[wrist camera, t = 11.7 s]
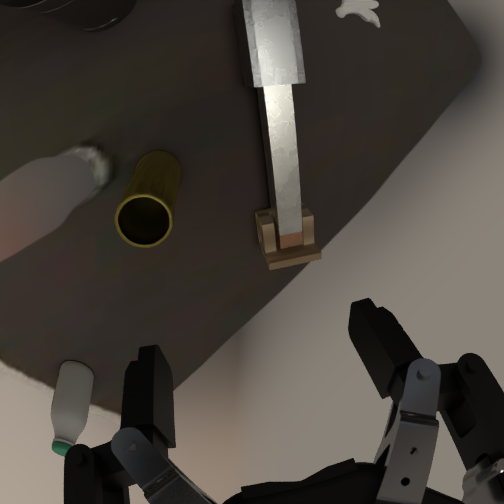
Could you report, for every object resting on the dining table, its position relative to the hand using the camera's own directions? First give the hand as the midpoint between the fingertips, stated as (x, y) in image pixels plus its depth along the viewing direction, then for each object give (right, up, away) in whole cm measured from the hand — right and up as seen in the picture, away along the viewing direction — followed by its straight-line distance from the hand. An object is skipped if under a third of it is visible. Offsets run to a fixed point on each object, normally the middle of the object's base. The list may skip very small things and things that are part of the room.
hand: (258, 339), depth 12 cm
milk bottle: (-37, -21, +42) cm, 60 cm away
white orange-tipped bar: (+3, +15, +25) cm, 30 cm away
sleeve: (+1, +28, +19) cm, 34 cm away
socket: (+4, +8, +32) cm, 33 cm away
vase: (-12, +14, +25) cm, 31 cm away
